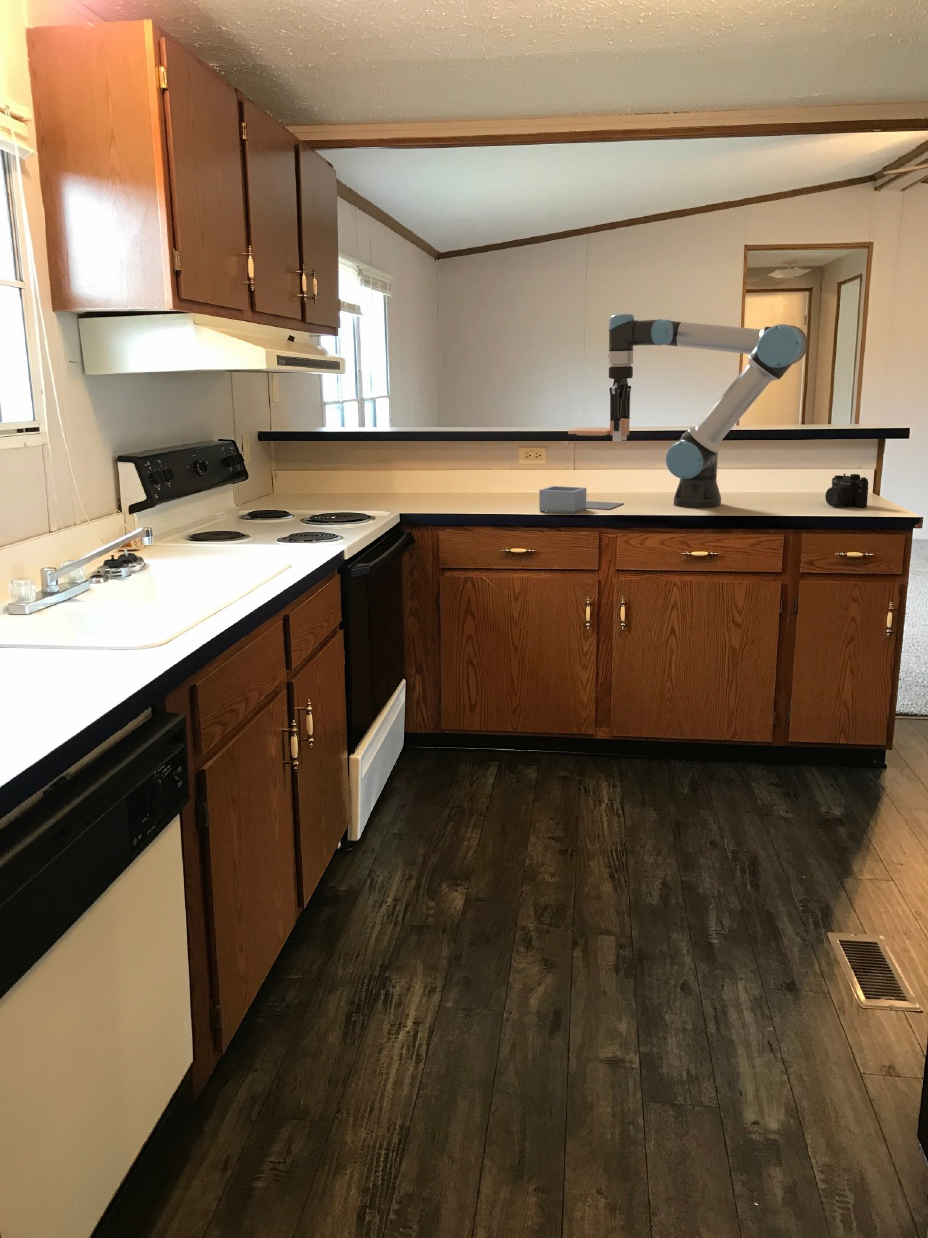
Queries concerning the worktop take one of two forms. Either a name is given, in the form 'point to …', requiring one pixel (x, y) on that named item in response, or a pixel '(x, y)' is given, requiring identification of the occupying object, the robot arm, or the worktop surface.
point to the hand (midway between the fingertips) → (619, 440)
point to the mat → (602, 505)
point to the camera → (848, 491)
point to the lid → (602, 430)
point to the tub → (562, 499)
